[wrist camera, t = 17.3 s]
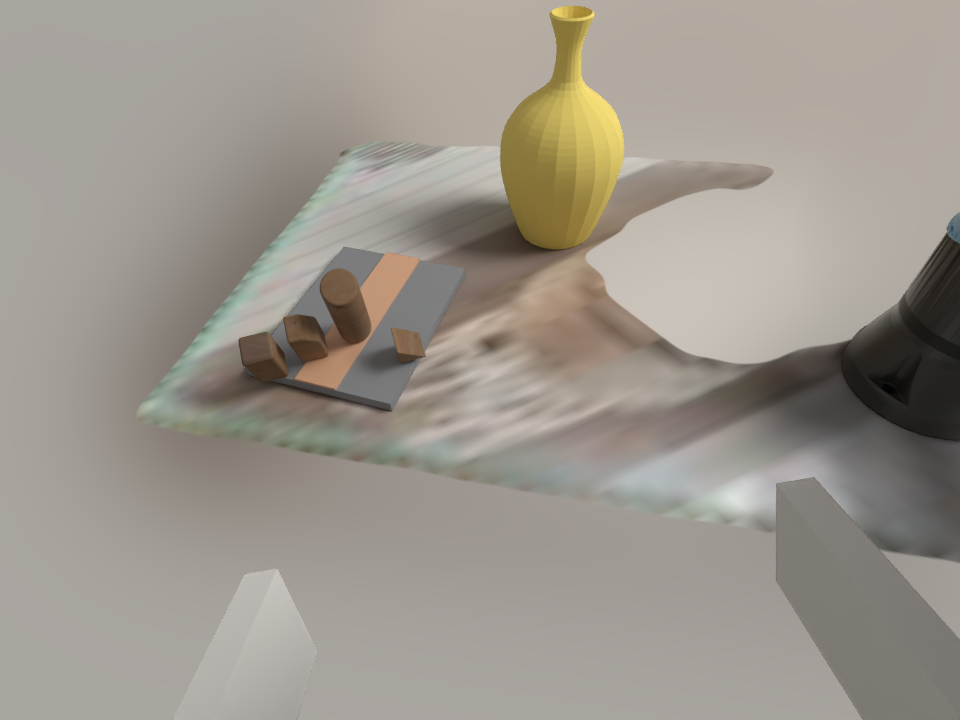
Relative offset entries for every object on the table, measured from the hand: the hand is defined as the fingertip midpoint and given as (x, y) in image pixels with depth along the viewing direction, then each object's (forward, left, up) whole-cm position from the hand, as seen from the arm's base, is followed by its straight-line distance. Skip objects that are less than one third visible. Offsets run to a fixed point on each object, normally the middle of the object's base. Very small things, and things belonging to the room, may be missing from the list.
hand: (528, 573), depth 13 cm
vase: (+12, -65, -35) cm, 75 cm away
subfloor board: (+30, -39, -35) cm, 60 cm away
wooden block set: (+29, -32, -33) cm, 55 cm away
